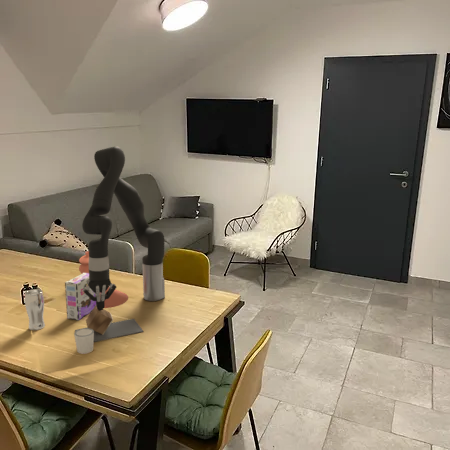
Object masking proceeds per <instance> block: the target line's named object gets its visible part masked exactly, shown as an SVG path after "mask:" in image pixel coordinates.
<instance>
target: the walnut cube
mask: <svg viewBox="0 0 450 450" xmlns="http://www.w3.org/2000/svg"><path fill="white" fill-rule="evenodd" d="M113 322H114V318H113V315H112V313H111V312H110V311H108V310H105V308H103V310H100V311H99V309H97V307H96V306H95V307H94V309H93V310H92V312H90V313H89V314H88V316H87V317H86V319H85V323H86V328H90V329H93V330H94V331H96V332H98V333H100V334H102V335H103V334H104V333H105V331H106V330H107V329H108V327H109V326H110V324H111V323H113Z"/></svg>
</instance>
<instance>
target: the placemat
mask: <svg viewBox="0 0 450 450" xmlns="http://www.w3.org/2000/svg"><path fill="white" fill-rule="evenodd" d="M84 328H85V327H82V328H77V329H74V333H75V332H76V331H77V330H80V329H84ZM139 333H144V330H143V328H142V327H141V326H140V324H139V323H138V322H137V321H136V319H135V318H130V319H125V320H119V321H115V322H114V321H112V323H111V324H110V326H109V327H108V329H107V330H106V331H105V333H104V334H103V335H102V334H100V333H98V332H96V331H94V342H93V343H98V342H100V341H101V342H102V341H105V340H110V339H116V338H120V337H121V338H122V337H126V336H130V335H134V334H139Z"/></svg>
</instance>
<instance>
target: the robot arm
mask: <svg viewBox="0 0 450 450" xmlns="http://www.w3.org/2000/svg"><path fill="white" fill-rule="evenodd" d="M93 159H94V163H95V165H96V167H97V169H98V171H99V172H100V173H101V175H102V177H103V178H102V180H101V181H100V183H99V184H98V185H97V187H96V189H95V190H94V191H95V192H94V193H93V199H92V202H91V203H92V204H91V206H90V207H89V209H88V211H87V213H86V214H85V216H84V218H83V219H82V220H83V221H82V225H81V227H82V230H83V232H84V233H85V234H86V235H97V236H98V235H99V236H101V237H100V238H98V239H93V240H91V241H90V240H89V243H88V251H89V283H88V286H87V287H86V288H83V291H84V293H85V294H86V295H87V296H88V297H89V298H90V299H91V300H92V301H96V307H97V309H99V311H100V310H103V309H105V308H104V307H105V303H104V301H105V300H106V299H109V297H110V296H111V295H112V293H113V292H114V290H115V289H116V290H117V285H116V284H115V283H112V281H111V279H110V258H109V249H108V248H109V247H108V246H109V239H110V236H111V232H112V228H113V221H112V220H111V218H110V217H109V216H107V214H109V213H110V212H111V207H112V202H113V197H114V196H115V197H116V199H117V202H118V204H119V205H120V207H121V208H122V210H123V212H124V214H125V215H126V217H127V219H128V221H129V224H130V225H131V227H132V229H133V232H134V233H135V236H136V239H137V241H138V242H139V244H140V246H141V247H144V248H146V249H147V254H145V255H143V257H142V258H141V259H142V261H141V262H142V285H143V287H142V289H143V290H142V291H143V293H142V295H143V300H145V301H148V302H155V301H156V302H157V301H160V300H162V299H165V298H166V295H165V294H166V293H165V291H166V290H165V288H166V287H165V285H166V284H165V278H164V275H163V274H164V273H163V272H164V271H163V270H164V267H163V266H164V265H163V263H164V262H163V259H164V255H165V242H166V241H165V236H164V234H163V233H164V232H163V231H161V230H159V229H156V228H153V227H151V226H150V225H149V223H148V221H147V220H146V219H147V218H146V217H145V206H144V205H145V204H144V202H143V200H142V197H141V196H140V194H139V191H138V189H136V188H135V187H134V186H133V185H131V184H130V183H128V181H125V180H124V179H123V178H121V174H122V172H123V169H124V166H125V163H126V155H125V153H124V150H123V149H122V148H121V147H119V146H110V147H106V148H103V149H102V148H101V149H100V150H99V149H98V150H97V151H95V153H94V158H93ZM108 287H109V290H108V291H107V293H106V294H105V291H106V290H107V289H108ZM90 289H91V290H92V291H93V292H94V293H95V297H94V296H93V295H92V294H91V293H90Z"/></svg>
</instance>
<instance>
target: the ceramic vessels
mask: <svg viewBox="0 0 450 450" xmlns="http://www.w3.org/2000/svg"><path fill="white" fill-rule="evenodd" d="M78 261H79V263H80V265H79V268H78V271H79V272H80V274H83V273H89V250H88V251H85V255H82V256H81V257H80V258H79V260H78ZM108 290H109V287H108V289H107V290H106V291H105V294H106V293H107V291H108ZM128 300H129V295H128V294H127V293H125V292H122V291H121V290H118V289H117V288H116V289H115V290H114V292H113V293H112V295H111V296H110V297H109V299H106V300H105V301H104V303H105V307H104V308H103V309H109V308H115V307H119V306H121V305H124V304H125V303H127V301H128Z"/></svg>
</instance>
